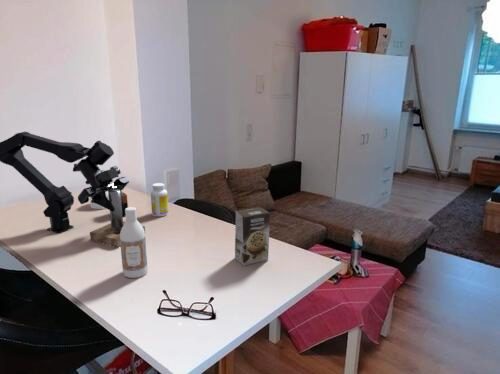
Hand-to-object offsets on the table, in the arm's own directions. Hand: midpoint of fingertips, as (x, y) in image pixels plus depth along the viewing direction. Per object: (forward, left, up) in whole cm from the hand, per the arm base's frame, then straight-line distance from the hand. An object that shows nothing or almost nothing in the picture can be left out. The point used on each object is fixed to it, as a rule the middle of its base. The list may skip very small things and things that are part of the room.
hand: (118, 208), depth 130 cm
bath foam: (+22, -16, -11) cm, 29 cm away
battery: (-17, +17, -11) cm, 27 cm away
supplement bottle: (-3, +25, -11) cm, 28 cm away
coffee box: (+48, +8, -11) cm, 50 cm away
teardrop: (-32, +22, -11) cm, 41 cm away
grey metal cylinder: (-1, 0, -7) cm, 7 cm away
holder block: (-1, 0, -11) cm, 11 cm away
